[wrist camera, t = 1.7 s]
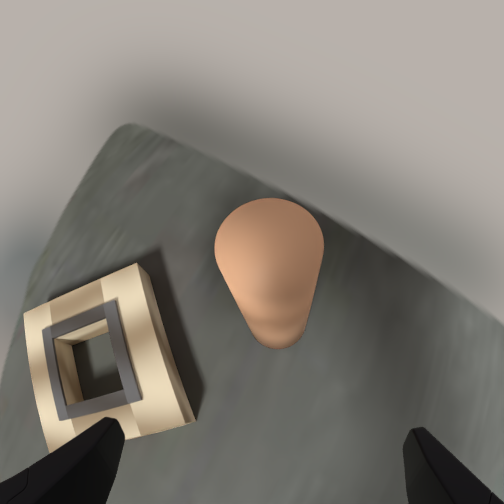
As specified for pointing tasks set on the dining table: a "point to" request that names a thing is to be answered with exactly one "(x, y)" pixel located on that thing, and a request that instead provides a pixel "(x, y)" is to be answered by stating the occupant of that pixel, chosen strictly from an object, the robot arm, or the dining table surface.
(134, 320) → the socket block
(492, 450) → the dining table surface
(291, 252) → the peg
